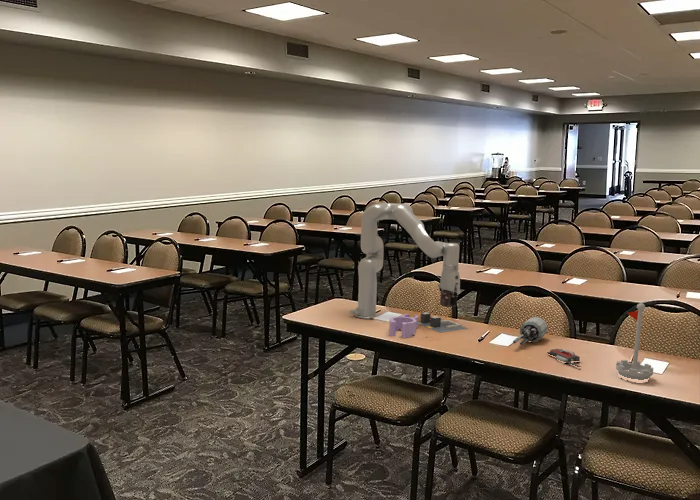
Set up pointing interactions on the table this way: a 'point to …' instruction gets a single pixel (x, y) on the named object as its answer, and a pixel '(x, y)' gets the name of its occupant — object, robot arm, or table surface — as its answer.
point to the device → (532, 330)
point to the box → (446, 298)
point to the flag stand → (635, 353)
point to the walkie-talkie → (565, 356)
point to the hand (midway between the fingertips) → (448, 303)
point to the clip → (403, 325)
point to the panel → (444, 326)
